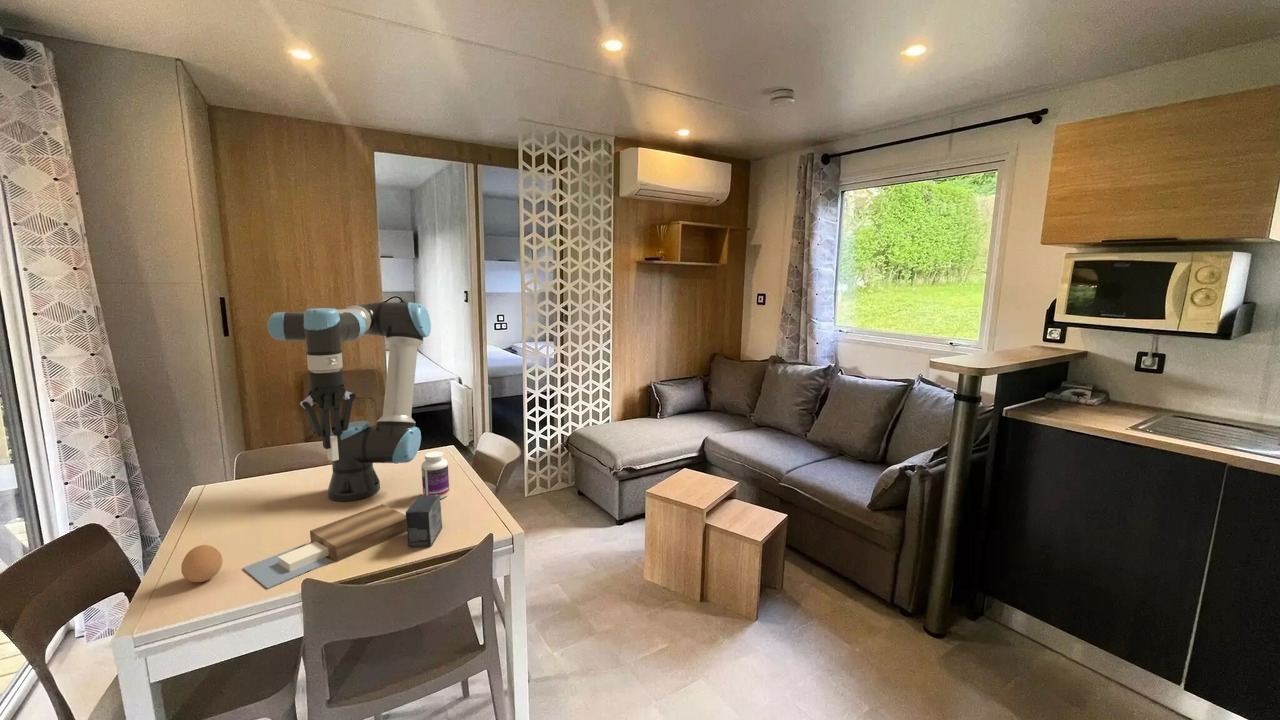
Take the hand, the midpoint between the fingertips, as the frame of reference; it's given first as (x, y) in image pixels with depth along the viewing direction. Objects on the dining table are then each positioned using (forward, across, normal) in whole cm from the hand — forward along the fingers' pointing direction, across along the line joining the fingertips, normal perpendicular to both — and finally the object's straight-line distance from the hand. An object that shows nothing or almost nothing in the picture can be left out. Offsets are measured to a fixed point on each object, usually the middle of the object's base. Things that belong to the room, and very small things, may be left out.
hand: (333, 459), depth 133 cm
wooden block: (+24, +6, 0) cm, 25 cm away
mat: (+24, -12, +1) cm, 27 cm away
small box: (+25, +16, -14) cm, 33 cm away
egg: (+25, -26, +10) cm, 37 cm away
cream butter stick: (+24, -9, 0) cm, 26 cm away
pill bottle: (+25, +34, +7) cm, 42 cm away
